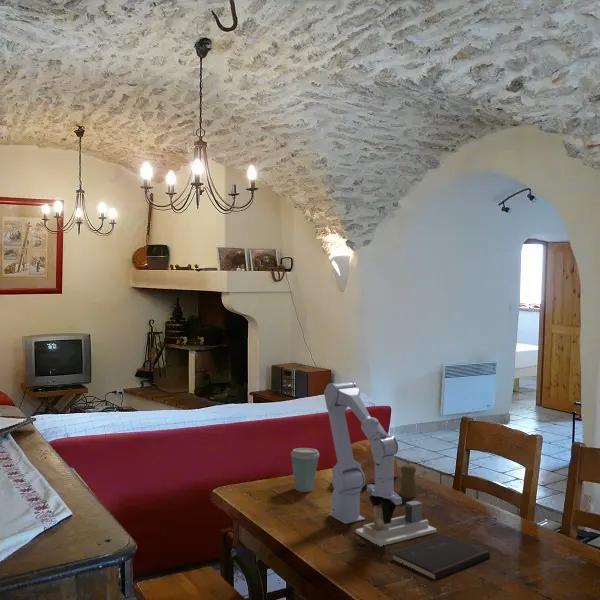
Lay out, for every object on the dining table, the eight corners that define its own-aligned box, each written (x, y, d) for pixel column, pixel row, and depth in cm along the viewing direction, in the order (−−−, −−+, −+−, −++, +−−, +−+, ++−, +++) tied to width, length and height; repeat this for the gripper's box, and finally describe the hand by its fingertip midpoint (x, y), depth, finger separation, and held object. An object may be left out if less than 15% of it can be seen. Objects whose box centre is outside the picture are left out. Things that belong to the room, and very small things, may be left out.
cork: (416, 498, 234) (416, 468, 234) (399, 497, 235) (399, 466, 235) (416, 493, 240) (417, 463, 240) (400, 492, 241) (400, 462, 241)
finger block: (373, 528, 200) (373, 505, 200) (385, 525, 203) (385, 503, 202) (379, 532, 198) (379, 508, 198) (391, 529, 200) (391, 506, 200)
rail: (355, 532, 202) (355, 506, 202) (410, 519, 214) (411, 495, 214) (379, 546, 192) (380, 519, 192) (436, 532, 204) (436, 506, 203)
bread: (330, 482, 253) (330, 442, 252) (377, 469, 270) (377, 432, 269) (355, 490, 243) (355, 450, 242) (402, 477, 259) (403, 439, 259)
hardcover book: (391, 560, 184) (391, 552, 184) (445, 541, 198) (445, 533, 198) (435, 582, 171) (435, 573, 171) (490, 559, 185) (490, 551, 185)
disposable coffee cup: (288, 485, 248) (289, 445, 248) (317, 484, 249) (317, 445, 249) (291, 494, 238) (292, 453, 237) (321, 493, 239) (321, 452, 238)
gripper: (359, 472, 204) (358, 515, 204) (388, 485, 192) (388, 531, 192) (377, 469, 208) (376, 511, 208) (407, 481, 195) (406, 527, 196)
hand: (383, 521), depth 200 cm, fingers closed on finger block, 3 cm apart
